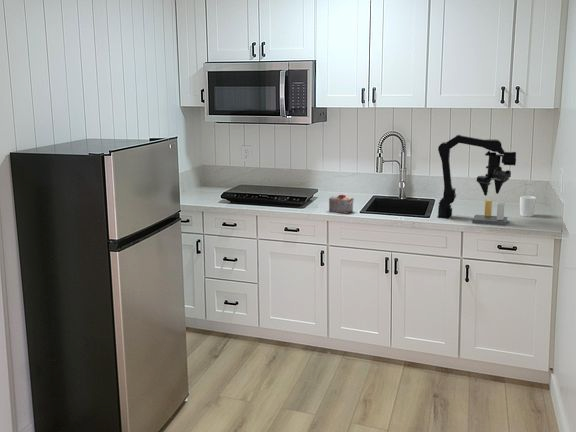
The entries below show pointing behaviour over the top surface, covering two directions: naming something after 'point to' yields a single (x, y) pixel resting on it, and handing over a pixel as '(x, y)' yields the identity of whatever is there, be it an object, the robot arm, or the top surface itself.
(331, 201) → the food item
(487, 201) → the amber slider
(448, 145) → the robot arm
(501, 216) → the grey slider
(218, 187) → the top surface
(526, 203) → the white cup
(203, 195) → the top surface
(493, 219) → the grey slotted board
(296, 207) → the top surface
